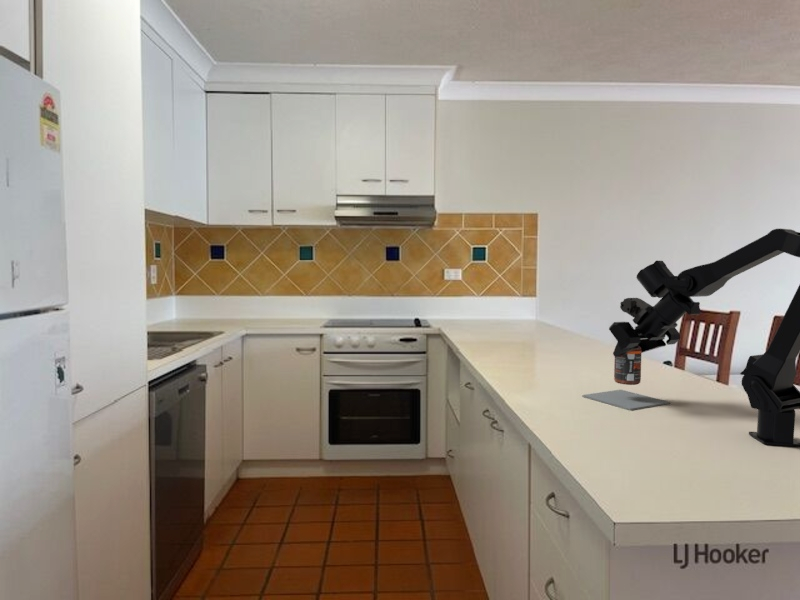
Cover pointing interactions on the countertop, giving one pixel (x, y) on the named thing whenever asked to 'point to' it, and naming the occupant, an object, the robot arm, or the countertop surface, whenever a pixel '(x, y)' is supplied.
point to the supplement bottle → (628, 367)
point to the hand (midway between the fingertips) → (623, 354)
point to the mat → (626, 399)
